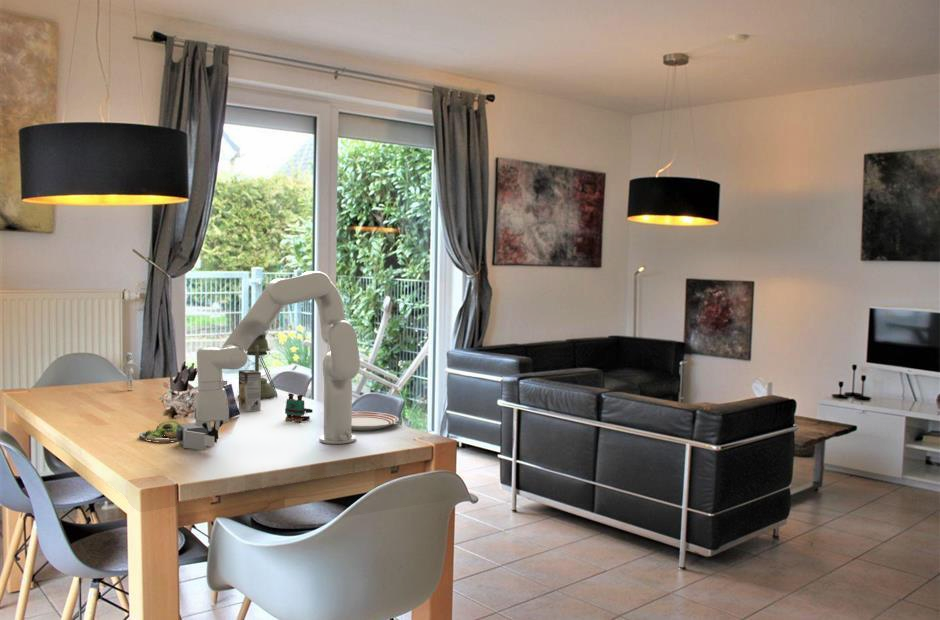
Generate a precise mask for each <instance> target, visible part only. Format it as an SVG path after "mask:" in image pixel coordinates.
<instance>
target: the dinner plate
mask: <svg viewBox="0 0 940 620" xmlns="http://www.w3.org/2000/svg"><path fill="white" fill-rule="evenodd" d="M399 421H400V419H399V417H398V416H397V415H392V414H389V413H385V412H378V411H377V412H376V411H352V431H375V430H379V429H383V428H386V427H388V426H391V425H393V424H396V423H398V422H399Z"/></svg>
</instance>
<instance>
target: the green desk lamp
mask: <svg viewBox="0 0 940 620" xmlns="http://www.w3.org/2000/svg"><path fill="white" fill-rule="evenodd" d="M267 334H269V332H268V331H266V332H264V333H262V334H261V335H259V336H258V337H257V338H256V339H255V340H254V341H253V342H252V344H251V345H250V346H249V348H248V349H247V351H246V353H247V356H252V357H253V356H254V361H252V360H250V359H248V361H249V362H251V364H249V365H248V367H249V366H251V365H253V364H254V367H255V368H254V370H255V371H258V372H260V371H259V370H260V367H262V368H263V369H264V371H265V374H264V375H261V401H263V400H264V401H265V400H271V398H272V399H274V397H275V398H277V397H278V393H277V390H276V387H275V384H274V382H273V379H272V377H271V376H270V370H269V369H268V368H267V365H266V363H265V361H264V359H265V358H267V357H269V356H270V355H271V353H270V351H271V349H270V348H269V345H268V344H269V343H268V340H267V339H266V335H267ZM268 353H269V354H268ZM266 355H267V356H266ZM263 356H266V357H263ZM260 363H261V365H260ZM265 376H266V377H267V378H265ZM268 381H269V382H268ZM237 398H238V399H239V394H238V395H237Z"/></svg>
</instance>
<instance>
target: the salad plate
mask: <svg viewBox="0 0 940 620" xmlns="http://www.w3.org/2000/svg"><path fill="white" fill-rule="evenodd" d="M179 424H180V423H179V422H177V421H173V420H170V421H164V422H162V423H159V424H158V425H157V426H156V429H154V430H148V431H144V432H141V433H139V434H138V435H139V439H141V438H142V439H147V440H151V441H159V442H170V443H172V442H171V441H177V438H176V431H177V430H179ZM164 435H165V436H164ZM155 438H169V439H155ZM142 439H141V440H142ZM151 441H150V442H151Z"/></svg>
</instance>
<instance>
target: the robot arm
mask: <svg viewBox="0 0 940 620" xmlns="http://www.w3.org/2000/svg"><path fill="white" fill-rule="evenodd" d="M266 285H267V286H266V287H265V288H264V289H263V291H262V292H261V294H260V295H259V296H258V298H257V299H256V301H255V302H254V304H253V305H252V306H251V308H250V310H249V311H248V312H247V313H246V315H245V316H244V317H243V318H242V320H241V321H240V322H239V323H238V325H236V327H235V328H234V329H233V331H231V333H230V334H229V336H228V338H227V339H226V341H225V342H224V343H223V345H222V347H221V348H219V347H216V346H215V347H211V346H207V347H202V348H199V349H198V350H197V351H196V365H197V367H196V368H197V384H198V388H197V389H198V390H196V391H195V394H194V403H193V404H194V405H193V407H194V408H193V410H194V411H193V415H194V419H195V420H194V423H195V425H196V426H200V427H204V428H205V429H207V431H208V435H209V436H214V444H216V443H218V440H219V430H220V428H221V427H222V426H223V424H227V423H229V422H230V409H229V402H228V396H227V392H226V389H225V388H224V386H227V385H228V380H224V378H223V370H233V371H234V370H239V369H242V368H243V367H245V366H246V364H247V362H248V360H249V359H248V355H247V352H248V351H247V349H248V348H249V346H250V345H251V344H252V342H253V341H254V340H255V339H256V338H257V337H258V336H259V335H261V334H262V333H264V332H265V333H267V332H268V330H269V329H270V328H271V327H272V325H274V322H275V321H276V319H277V318H278V317H279V315H280V313H281V312H282V310H283V309H284V308H285V307H286V305H293V304H298V303H302V302H307V301H310V300H314V301H315V303H316V306H317V309H318V310H317V312H318V315H319V323H320V332H321V339H322V340H323V343H325V344H327V345H328V346H329V351H328V352H327V353H326V355H325V356H324V357H323V361H322V375H323V385H324V386H323V401H324V402H323V435H321V436H319V439H318V440H319V442H321V443H324V444H330V445H342V444H343V445H345V444H350V443H353V442H356V440H357V436H356V435H355V434H353V432H352V431H353V430H352V412H353V411H352V410H353V383H352V380H353V379H355V378H356V377H357V375H358V373H359V372H360V368H361V361H360V359H361V358H360V351H359V345H358V337H357V332H356V330H355V328H354V326H353V325H352V324H351V323H350V322H349V321H347V320H346V316H345V315H346V314H345V310H344V305H343V304H344V303H343V300H342V296H341V294H340V291H339V290H338V288H337V287H336V285H335V284H334V283H333V282H332V281H331V278H330V277H329V276H328V274H326V273H324V272H322V271H316V270H315V271H314V270H309V271H305V272H303V274H301V275H297V276H293V277H288V278H274V279H273V280H271V281H270V282H269V283H268V284H266ZM204 422H205V423H204ZM211 422H213V425H212V423H211ZM211 425H212V426H213V429H212V427H211Z"/></svg>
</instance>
